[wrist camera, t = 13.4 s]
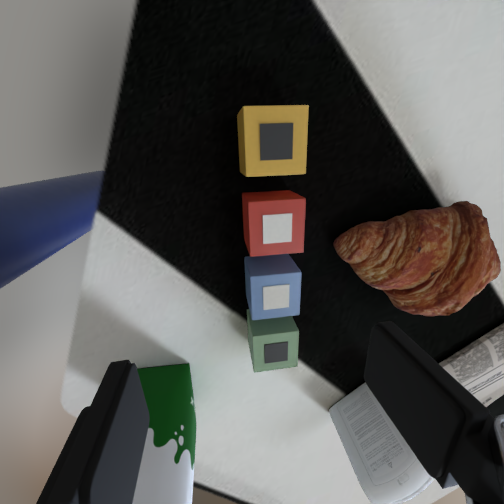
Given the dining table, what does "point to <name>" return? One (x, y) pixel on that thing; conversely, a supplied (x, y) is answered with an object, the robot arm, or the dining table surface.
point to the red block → (273, 222)
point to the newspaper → (480, 366)
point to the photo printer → (377, 449)
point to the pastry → (424, 257)
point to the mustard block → (272, 140)
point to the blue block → (272, 286)
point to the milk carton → (167, 437)
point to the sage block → (273, 343)
